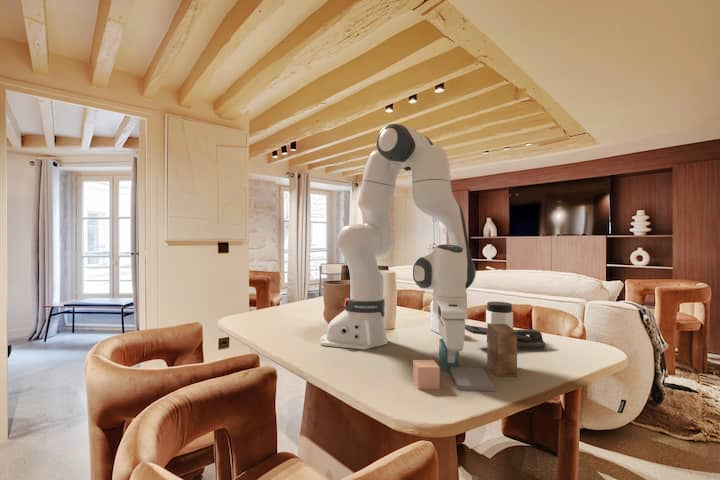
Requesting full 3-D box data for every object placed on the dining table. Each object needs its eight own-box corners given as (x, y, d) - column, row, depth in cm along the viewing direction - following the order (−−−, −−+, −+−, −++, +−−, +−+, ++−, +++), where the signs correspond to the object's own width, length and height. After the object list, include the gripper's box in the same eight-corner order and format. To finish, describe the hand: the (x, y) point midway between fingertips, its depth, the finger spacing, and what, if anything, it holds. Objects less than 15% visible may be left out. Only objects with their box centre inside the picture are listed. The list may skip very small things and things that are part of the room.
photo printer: (428, 329, 137) (429, 297, 137) (439, 329, 138) (439, 296, 138) (441, 336, 127) (441, 301, 127) (452, 335, 128) (452, 301, 128)
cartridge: (441, 370, 93) (441, 342, 93) (439, 364, 97) (439, 338, 97) (459, 371, 92) (459, 343, 92) (456, 365, 97) (456, 338, 97)
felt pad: (457, 389, 81) (457, 385, 81) (450, 370, 93) (450, 366, 93) (494, 391, 80) (494, 386, 80) (481, 372, 92) (482, 368, 92)
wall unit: (496, 375, 89) (496, 331, 89) (486, 363, 99) (486, 323, 99) (517, 376, 89) (517, 332, 89) (506, 363, 98) (506, 323, 98)
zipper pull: (461, 323, 118) (533, 323, 120) (461, 344, 118) (533, 342, 120) (471, 330, 109) (549, 329, 111) (471, 352, 109) (549, 350, 111)
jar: (516, 340, 122) (517, 305, 122) (493, 340, 121) (493, 305, 121) (504, 334, 131) (504, 301, 131) (482, 334, 130) (483, 301, 130)
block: (417, 389, 81) (417, 367, 81) (412, 380, 86) (413, 360, 86) (439, 389, 81) (439, 367, 81) (433, 380, 86) (433, 359, 86)
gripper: (433, 299, 105) (433, 346, 105) (442, 313, 85) (441, 371, 85) (455, 299, 105) (455, 346, 105) (469, 313, 84) (468, 372, 84)
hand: (449, 358), depth 95 cm, fingers open, 5 cm apart
